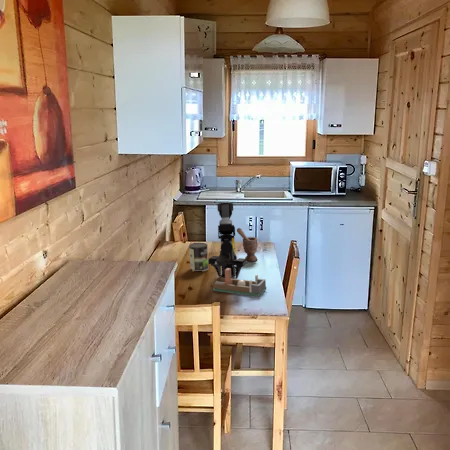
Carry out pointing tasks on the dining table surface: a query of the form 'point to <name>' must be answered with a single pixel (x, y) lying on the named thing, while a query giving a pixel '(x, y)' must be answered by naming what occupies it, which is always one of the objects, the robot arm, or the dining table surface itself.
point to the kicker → (227, 277)
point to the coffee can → (198, 256)
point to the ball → (241, 283)
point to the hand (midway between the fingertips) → (228, 277)
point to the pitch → (242, 287)
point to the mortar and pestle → (249, 246)
